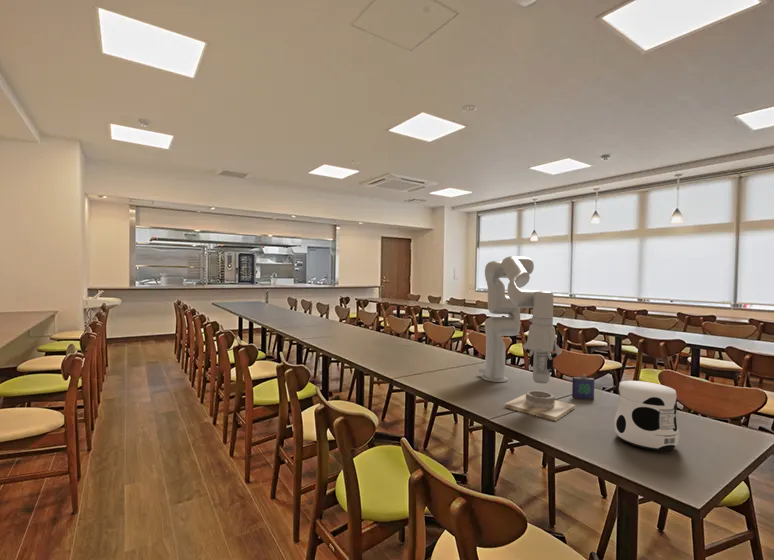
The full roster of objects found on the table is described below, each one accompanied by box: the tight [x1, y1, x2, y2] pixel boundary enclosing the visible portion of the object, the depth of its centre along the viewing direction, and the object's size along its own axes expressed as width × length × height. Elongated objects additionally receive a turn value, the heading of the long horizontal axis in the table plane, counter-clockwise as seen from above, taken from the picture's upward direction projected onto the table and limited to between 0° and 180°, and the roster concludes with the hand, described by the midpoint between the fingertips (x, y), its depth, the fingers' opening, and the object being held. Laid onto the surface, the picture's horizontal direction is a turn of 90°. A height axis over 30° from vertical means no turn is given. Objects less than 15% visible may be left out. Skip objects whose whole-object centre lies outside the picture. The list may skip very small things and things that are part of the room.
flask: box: [571, 373, 595, 400], centre depth 170 cm, size 9×3×11 cm, turn 87°
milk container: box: [613, 380, 680, 452], centre depth 125 cm, size 17×17×18 cm
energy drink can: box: [532, 348, 550, 384], centre depth 156 cm, size 6×6×15 cm
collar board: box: [504, 389, 576, 422], centre depth 156 cm, size 20×20×6 cm
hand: (541, 367), depth 156 cm, fingers closed on energy drink can, 5 cm apart
